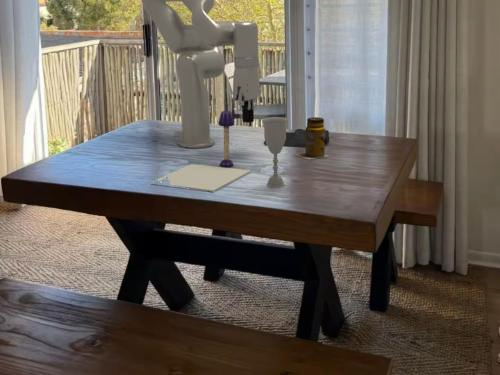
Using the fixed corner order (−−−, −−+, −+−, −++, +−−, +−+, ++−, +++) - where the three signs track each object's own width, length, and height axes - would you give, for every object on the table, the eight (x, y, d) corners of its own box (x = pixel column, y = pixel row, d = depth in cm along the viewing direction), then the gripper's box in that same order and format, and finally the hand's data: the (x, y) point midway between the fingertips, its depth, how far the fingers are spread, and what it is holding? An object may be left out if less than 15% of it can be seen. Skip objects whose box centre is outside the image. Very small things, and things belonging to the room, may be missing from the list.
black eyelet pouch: (271, 137, 244) (271, 124, 242) (332, 140, 238) (332, 127, 236) (260, 146, 229) (260, 133, 228) (324, 150, 223) (324, 136, 222)
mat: (150, 184, 185) (150, 182, 185) (192, 165, 204) (191, 163, 204) (213, 192, 177) (213, 190, 177) (250, 172, 196) (250, 170, 195)
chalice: (261, 181, 186) (260, 117, 181) (286, 180, 186) (286, 116, 181) (264, 189, 179) (263, 122, 174) (289, 188, 180) (289, 121, 174)
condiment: (330, 156, 213) (330, 118, 210) (309, 160, 209) (309, 122, 205) (315, 152, 219) (316, 115, 216) (295, 155, 215) (295, 118, 211)
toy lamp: (237, 164, 205) (236, 110, 200) (231, 168, 201) (230, 113, 196) (222, 163, 206) (220, 109, 202) (217, 167, 202) (215, 112, 197)
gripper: (246, 60, 215) (248, 117, 220) (224, 65, 202) (226, 125, 207) (267, 61, 212) (269, 118, 217) (246, 65, 199) (248, 126, 204)
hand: (248, 121), depth 212 cm, fingers closed
